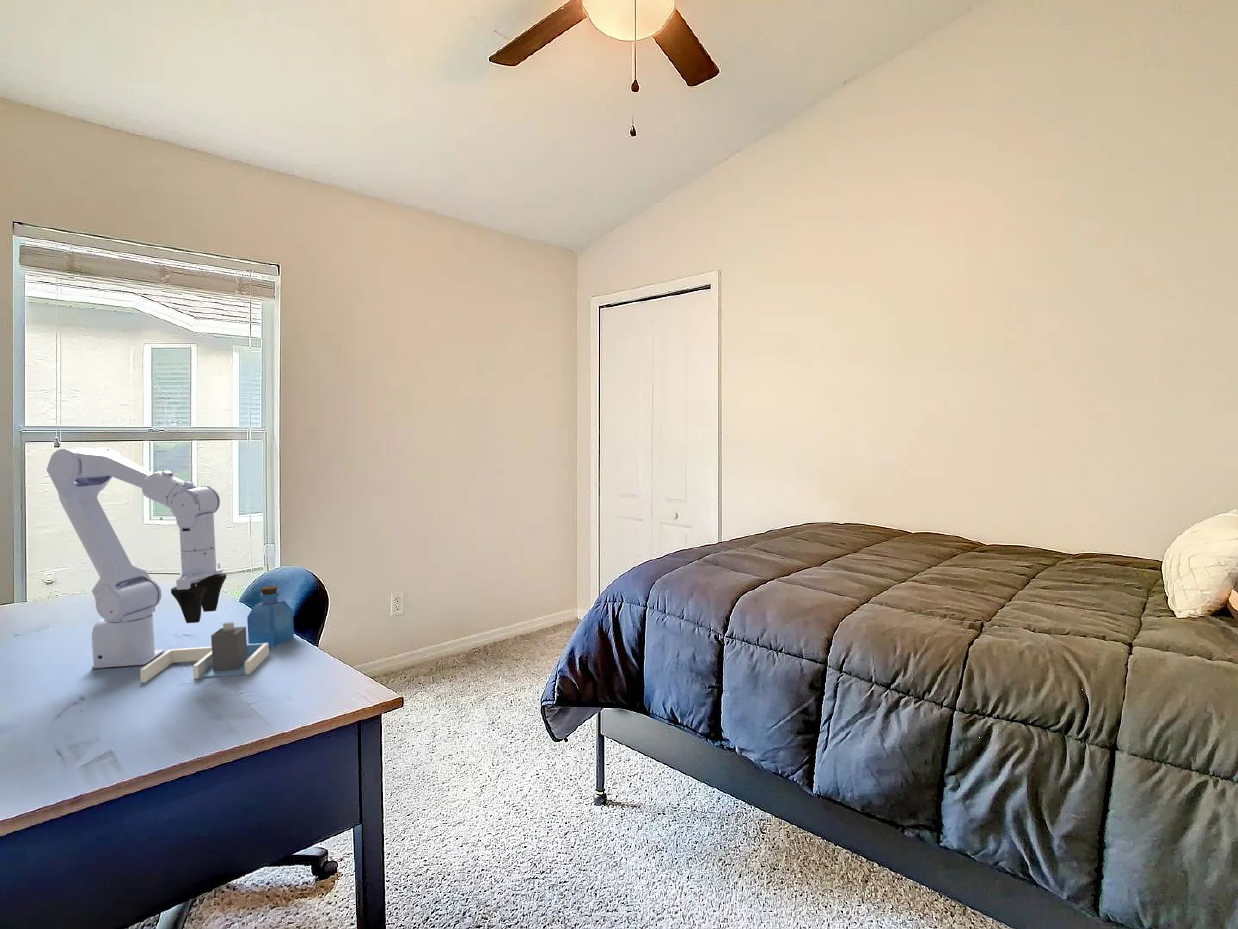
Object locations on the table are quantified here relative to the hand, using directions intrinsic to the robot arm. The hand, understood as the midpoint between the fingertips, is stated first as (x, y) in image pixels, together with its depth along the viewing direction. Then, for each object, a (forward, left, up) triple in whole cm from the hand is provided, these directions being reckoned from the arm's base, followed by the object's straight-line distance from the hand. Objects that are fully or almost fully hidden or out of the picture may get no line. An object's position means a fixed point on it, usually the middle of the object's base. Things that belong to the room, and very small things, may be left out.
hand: (201, 616), depth 128 cm
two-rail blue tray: (+2, -4, -9) cm, 10 cm away
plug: (+6, -4, -9) cm, 12 cm away
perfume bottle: (+9, +11, -10) cm, 17 cm away
